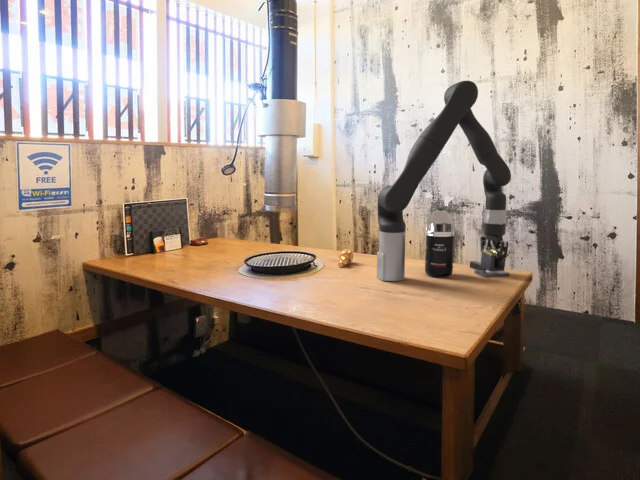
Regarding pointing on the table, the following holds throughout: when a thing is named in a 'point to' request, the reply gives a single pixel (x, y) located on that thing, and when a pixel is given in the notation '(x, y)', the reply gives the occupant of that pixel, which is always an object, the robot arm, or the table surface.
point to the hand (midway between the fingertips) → (492, 266)
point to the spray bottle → (439, 244)
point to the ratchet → (485, 272)
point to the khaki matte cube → (490, 260)
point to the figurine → (345, 257)
